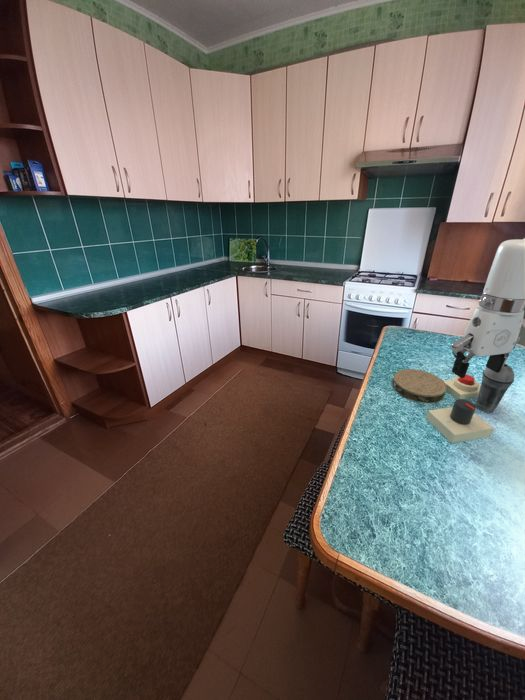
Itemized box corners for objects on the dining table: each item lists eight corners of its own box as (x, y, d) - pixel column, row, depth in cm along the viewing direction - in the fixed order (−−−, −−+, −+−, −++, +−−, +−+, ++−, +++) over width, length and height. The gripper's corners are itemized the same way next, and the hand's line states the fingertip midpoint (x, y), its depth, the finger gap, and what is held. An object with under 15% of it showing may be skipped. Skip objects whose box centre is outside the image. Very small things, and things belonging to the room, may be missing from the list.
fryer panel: (461, 413, 87) (464, 404, 85) (490, 436, 78) (494, 427, 77) (425, 418, 85) (428, 410, 83) (451, 443, 76) (454, 434, 75)
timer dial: (445, 415, 81) (451, 400, 79) (458, 411, 83) (463, 396, 80) (461, 426, 77) (467, 411, 75) (474, 422, 79) (480, 406, 76)
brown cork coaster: (444, 409, 89) (447, 401, 87) (388, 394, 96) (390, 386, 94) (444, 383, 101) (446, 375, 99) (395, 372, 108) (396, 365, 106)
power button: (466, 378, 97) (467, 373, 96) (476, 384, 93) (477, 380, 93) (455, 379, 96) (457, 375, 95) (465, 386, 93) (467, 381, 92)
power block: (465, 382, 101) (469, 373, 99) (485, 396, 94) (489, 386, 92) (440, 386, 99) (443, 376, 97) (458, 400, 92) (462, 390, 90)
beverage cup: (466, 407, 89) (489, 349, 80) (475, 398, 93) (497, 342, 84) (495, 419, 84) (522, 359, 75) (502, 409, 88) (529, 350, 79)
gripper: (482, 312, 56) (456, 386, 64) (553, 305, 59) (520, 376, 67) (452, 300, 62) (432, 368, 70) (517, 294, 66) (491, 360, 73)
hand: (475, 372), depth 69 cm, fingers open, 9 cm apart
